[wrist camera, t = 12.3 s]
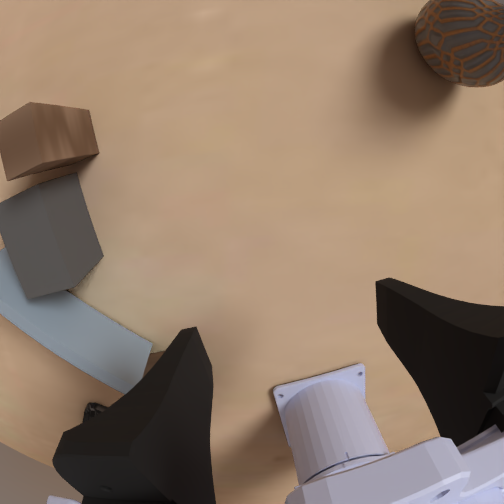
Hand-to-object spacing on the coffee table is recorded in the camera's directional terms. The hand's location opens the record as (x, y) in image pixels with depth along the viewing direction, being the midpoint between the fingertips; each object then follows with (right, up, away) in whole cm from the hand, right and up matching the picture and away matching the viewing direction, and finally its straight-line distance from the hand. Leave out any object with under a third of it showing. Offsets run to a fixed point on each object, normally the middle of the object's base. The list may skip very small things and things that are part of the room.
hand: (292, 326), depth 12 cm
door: (-15, -1, +9) cm, 18 cm away
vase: (+12, +18, +5) cm, 22 cm away
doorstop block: (-14, +5, +7) cm, 17 cm away
